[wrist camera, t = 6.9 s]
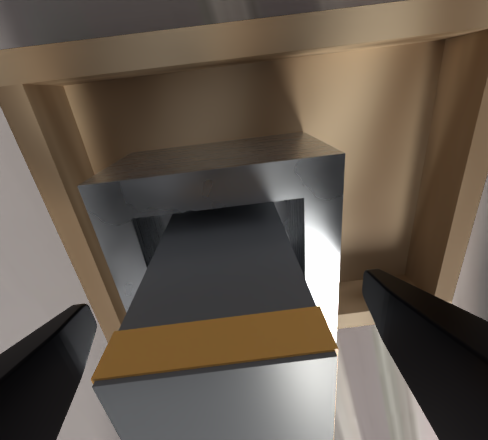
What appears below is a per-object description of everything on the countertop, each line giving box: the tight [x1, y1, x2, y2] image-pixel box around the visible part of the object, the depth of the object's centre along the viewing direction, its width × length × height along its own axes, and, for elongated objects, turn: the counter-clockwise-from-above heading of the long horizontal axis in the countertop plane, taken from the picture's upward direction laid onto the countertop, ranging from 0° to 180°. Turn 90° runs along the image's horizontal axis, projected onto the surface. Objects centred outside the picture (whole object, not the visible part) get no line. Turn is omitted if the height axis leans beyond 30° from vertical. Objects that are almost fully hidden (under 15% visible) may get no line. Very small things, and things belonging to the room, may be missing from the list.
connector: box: [91, 202, 338, 440], centre depth 9 cm, size 4×4×8 cm
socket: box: [77, 132, 345, 342], centre depth 12 cm, size 8×8×6 cm
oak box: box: [0, 0, 488, 343], centre depth 13 cm, size 18×14×4 cm
